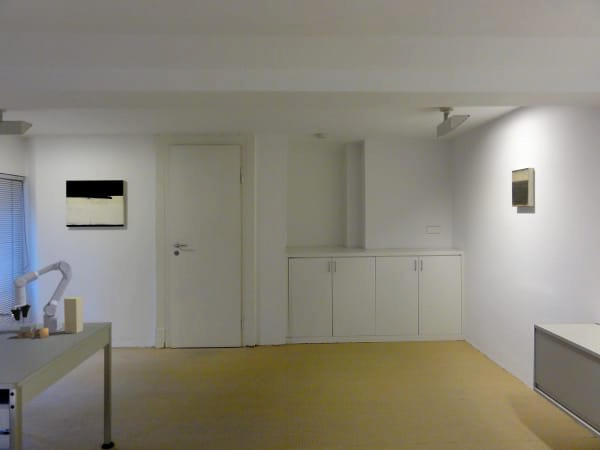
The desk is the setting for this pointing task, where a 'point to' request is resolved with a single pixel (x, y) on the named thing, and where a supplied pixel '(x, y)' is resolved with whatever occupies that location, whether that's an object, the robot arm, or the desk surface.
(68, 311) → the tan wooden block
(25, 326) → the slate block
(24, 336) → the brown square box
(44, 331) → the orange capsule
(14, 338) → the desk surface
